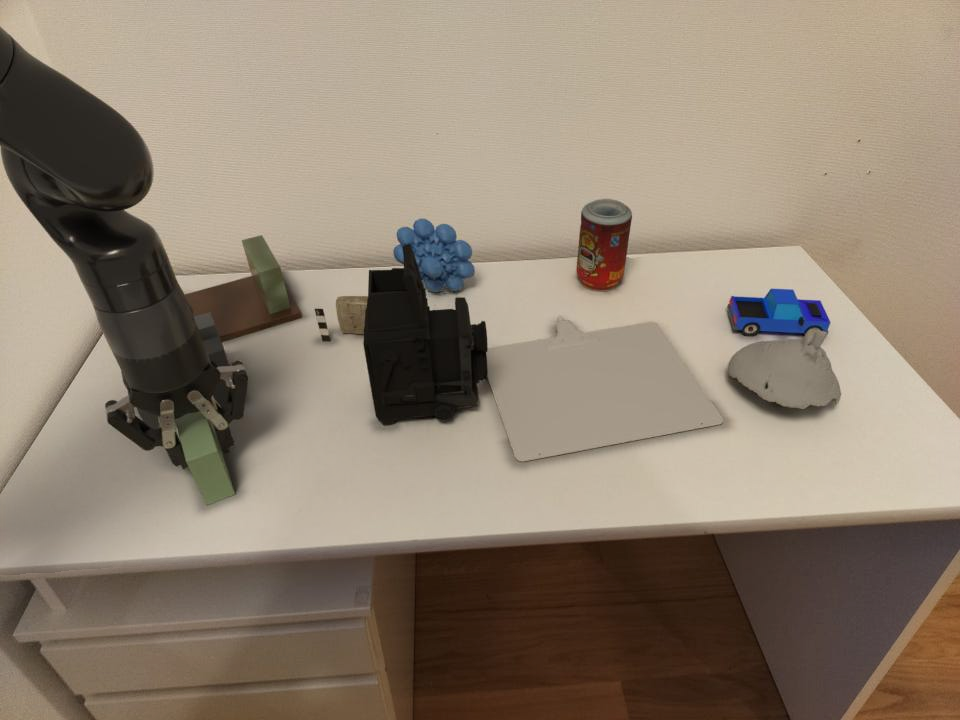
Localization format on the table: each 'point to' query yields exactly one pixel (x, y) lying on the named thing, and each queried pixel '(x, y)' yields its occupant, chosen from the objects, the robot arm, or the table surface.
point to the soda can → (603, 244)
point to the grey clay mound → (788, 371)
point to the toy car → (777, 313)
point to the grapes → (436, 254)
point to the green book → (204, 457)
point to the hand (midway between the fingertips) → (205, 455)
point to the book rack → (248, 296)
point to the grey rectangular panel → (594, 390)
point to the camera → (419, 348)
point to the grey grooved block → (214, 353)
